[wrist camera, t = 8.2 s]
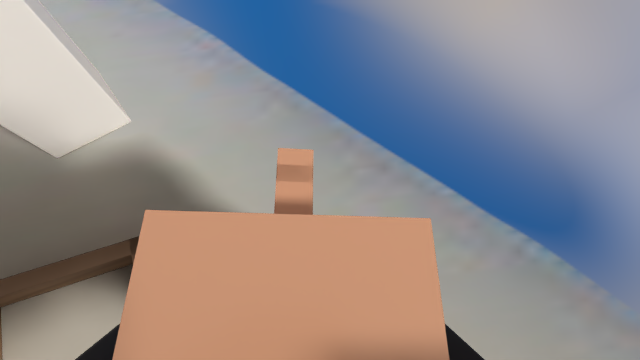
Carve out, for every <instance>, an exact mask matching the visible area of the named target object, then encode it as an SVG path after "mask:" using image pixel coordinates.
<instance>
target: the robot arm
mask: <svg viewBox="0 0 640 360" xmlns="http://www.w3.org/2000/svg"><path fill="white" fill-rule="evenodd" d="M119 327H120V324H119V325H117V326H116V327H115V328H114V329H112V330H111V331H110V332H109V333H108V334H106V335H105V336H104V337H103V338H101V339H100V340H99V341H98V342H96V343H95V344H94V345H93V346H91V347H90V348H89V349H88V350H86V351H85V352H84V353H83V354H81V355H80V356H79V357H78V358H77V359H75V360H112V359H113V354H114V350H115V345H116V341H117V336H118V331H119ZM445 330H446V338H447V345H448V353H449V360H484V359H483V358H482V357H481V356H480V355H479V354H478V353H477V352H476V351H475V350H473V349H472V348H471V347H470V346H469V345H468V344H467V343H466V342H465V341H464V340H462V339H461V338H460V337H459V336H458V335H457V334H456V333H455V332H454V331H452V330H451V329H450V328H449V327H448V326H447V325H446V324H445Z"/></svg>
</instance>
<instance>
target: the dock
mask: <svg viewBox="0 0 640 360" xmlns="http://www.w3.org/2000/svg"><path fill="white" fill-rule="evenodd" d="M138 241H139V237H135V238H132V239H129V240H126V241H123V242H119V243H116V244H113V245H110V246H107V247H103V248H100V249H97V250H94V251H91V252H87V253H84V254H81V255H78V256H75V257H71V258H68V259H65V260H62V261H59V262H55V263H52V264H49V265H46V266H42V267H39V268H36V269H33V270H30V271H26V272H23V273H20V274H17V275H14V276H10V277H7V278H4V279H1V280H0V360H2V335H1V307H3V306H6V305H9V304H12V303H15V302H18V301H22V300H25V299H28V298H31V297H34V296H37V295H40V294H43V293H46V292H49V291H52V290H55V289H58V288H61V287H64V286H67V285H70V284H73V283H76V282H79V281H82V280H85V279H88V278H91V277H94V276H97V275H100V274H104V273H107V272H110V271H113V270H116V269H119V268H122V267H125V266H128V265H131V264H133V263H134V259H135V254H136V250H137V245H138Z"/></svg>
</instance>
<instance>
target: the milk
mask: <svg viewBox="0 0 640 360" xmlns="http://www.w3.org/2000/svg"><path fill="white" fill-rule="evenodd" d="M130 122H131V120H130V118H129V117H128V115H127V114H126V112H125V111H124V109H123V108H122V106H121V104H120V103H119V101H118V100H117V98H116V97H115V95H114V94H113V92H112V91H111V89H110V88H109V86H108V85H107V83H106V82H105V80H104V78H103V77H102V75H101V74H100V72H99V71H98V70H97V69H96V68H95V66H94V65H93V64H92V63H91V62H90V61H89V59H88V58H87V57H86V56H85V55H84V53H83V52H82V51H81V50H80V49H79V47H78V46H77V45H76V44H75V43H74V42H73V40H72V39H71V38H70V37H69V36H68V34H67V33H66V32H65V31H64V30H63V28H62V27H61V26H60V25H59V24H58V23H57V21H56V20H55V19H54V18H53V17H52V15H51V14H50V13H49V12H48V11H47V9H46V8H45V7H44V6H43V5H42V3H41V2H40V1H39V0H0V125H1V126H3V127H5V128H6V129H8V130H10V131H11V132H13V133H15V134H16V135H18V136H20V137H22V138H23V139H25V140H27V141H28V142H30V143H32V144H33V145H35V146H37V147H38V148H40V149H42V150H44V151H45V152H47V153H49V154H50V155H52V156H54V157H55V158H60V157H62V156H64V155H66V154H68V153H70V152H72V151H74V150H76V149H78V148H80V147H82V146H84V145H86V144H88V143H90V142H92V141H94V140H96V139H98V138H100V137H102V136H104V135H106V134H108V133H110V132H112V131H114V130H116V129H118V128H120V127H122V126H124V125H126V124H128V123H130Z"/></svg>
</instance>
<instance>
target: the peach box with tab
mask: <svg viewBox="0 0 640 360" xmlns="http://www.w3.org/2000/svg"><path fill="white" fill-rule="evenodd" d="M112 360H449V353H448V345H447V338H446V330H445V323H444V315H443V308H442V300H441V293H440V285H439V277H438V270H437V262H436V255H435V247H434V240H433V232H432V225H431V218H399V217H366V216H332V215H313V150H305V149H285V148H278V160H277V177H276V194H275V210H274V214H266V213H233V212H199V211H166V210H145V213H144V218H143V222H142V227H141V232H140V236H139V241H138V245H137V250H136V254H135V259H134V263H133V268H132V272H131V277H130V282H129V286H128V291H127V295H126V300H125V304H124V309H123V313H122V318H121V322H120V327H119V331H118V336H117V341H116V345H115V350H114V354H113V359H112Z"/></svg>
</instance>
